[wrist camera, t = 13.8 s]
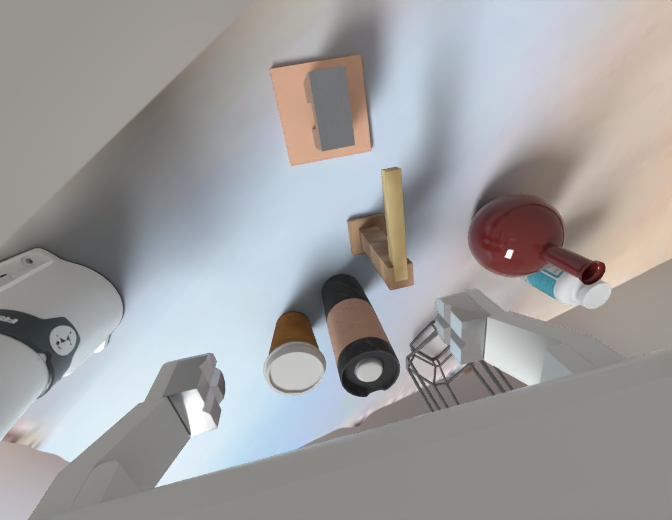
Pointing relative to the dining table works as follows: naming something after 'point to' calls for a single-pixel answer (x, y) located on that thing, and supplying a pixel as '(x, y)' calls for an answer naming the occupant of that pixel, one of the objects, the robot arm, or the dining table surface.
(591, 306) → the pill bottle
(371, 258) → the stand
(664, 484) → the robot arm
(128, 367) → the dining table surface
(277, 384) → the disposable coffee cup
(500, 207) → the round-bottom flask
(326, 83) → the brushed grey metal block
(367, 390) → the travel mug
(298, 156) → the tile
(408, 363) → the geometric lantern
